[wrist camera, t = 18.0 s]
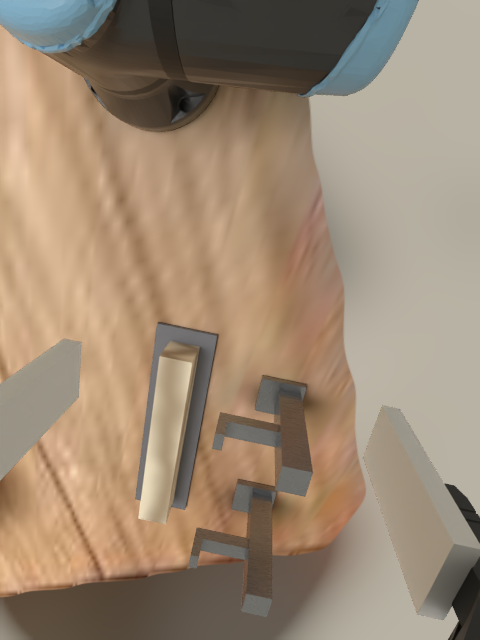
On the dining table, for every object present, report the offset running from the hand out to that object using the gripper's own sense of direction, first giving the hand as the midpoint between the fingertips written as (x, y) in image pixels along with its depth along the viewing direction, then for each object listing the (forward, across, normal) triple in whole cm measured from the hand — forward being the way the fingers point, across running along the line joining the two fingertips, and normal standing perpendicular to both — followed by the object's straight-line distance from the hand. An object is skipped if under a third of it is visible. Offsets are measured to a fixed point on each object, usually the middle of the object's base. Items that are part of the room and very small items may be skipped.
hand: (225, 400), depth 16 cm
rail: (+31, -7, -25) cm, 41 cm away
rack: (+32, +5, -26) cm, 41 cm away
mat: (+32, -7, -25) cm, 41 cm away
